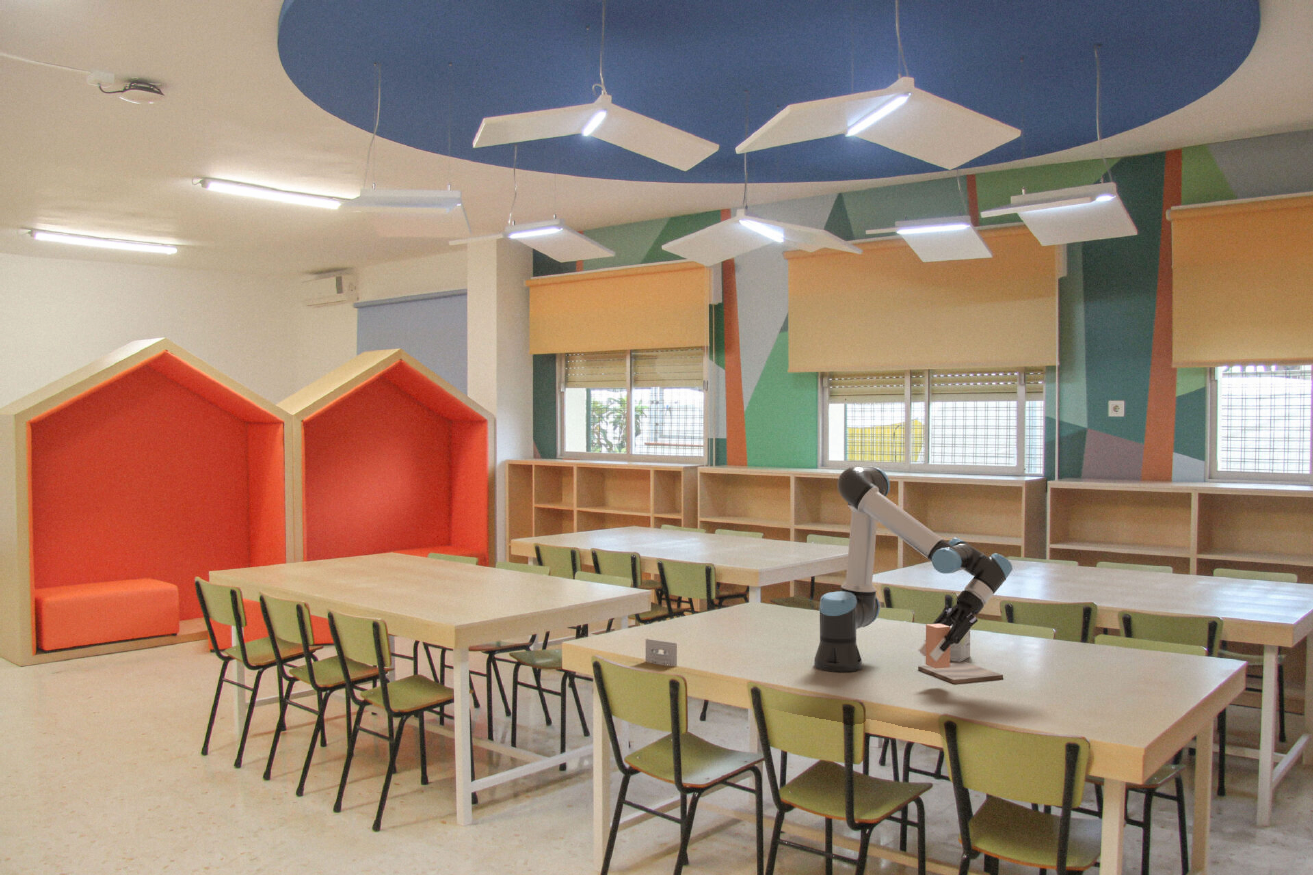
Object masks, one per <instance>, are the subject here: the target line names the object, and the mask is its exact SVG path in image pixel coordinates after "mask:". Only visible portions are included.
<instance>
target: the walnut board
mask: <svg viewBox="0 0 1313 875" xmlns="http://www.w3.org/2000/svg"><path fill="white" fill-rule="evenodd" d="M917 670H918V671H920V672H922V671H923V673H925V674H927V673H928V674H927V675H930V676H932V675H933V677H935V678H938V679H940V680H943V681H945V680H946V682H948V683H951V684H955V685H956V684H963V683H964V684H965V683H966V682H967V683H977V682H984V681H985V682H986V681H996V680H1003V679H1004V674H1002V673H999V672H997V671H992V670H991V669H987V668H985V667H981V666H978V665H975V664H972V663H969V662H967V661H961V662H950V667H948V668H933V667H931V666H928V665H926V664H925V665H918V666H917Z"/></svg>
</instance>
